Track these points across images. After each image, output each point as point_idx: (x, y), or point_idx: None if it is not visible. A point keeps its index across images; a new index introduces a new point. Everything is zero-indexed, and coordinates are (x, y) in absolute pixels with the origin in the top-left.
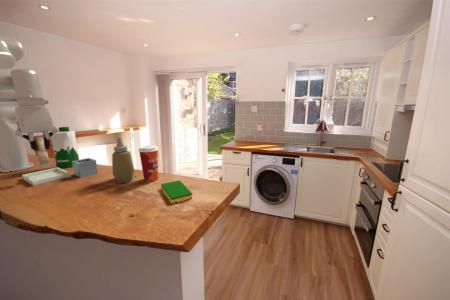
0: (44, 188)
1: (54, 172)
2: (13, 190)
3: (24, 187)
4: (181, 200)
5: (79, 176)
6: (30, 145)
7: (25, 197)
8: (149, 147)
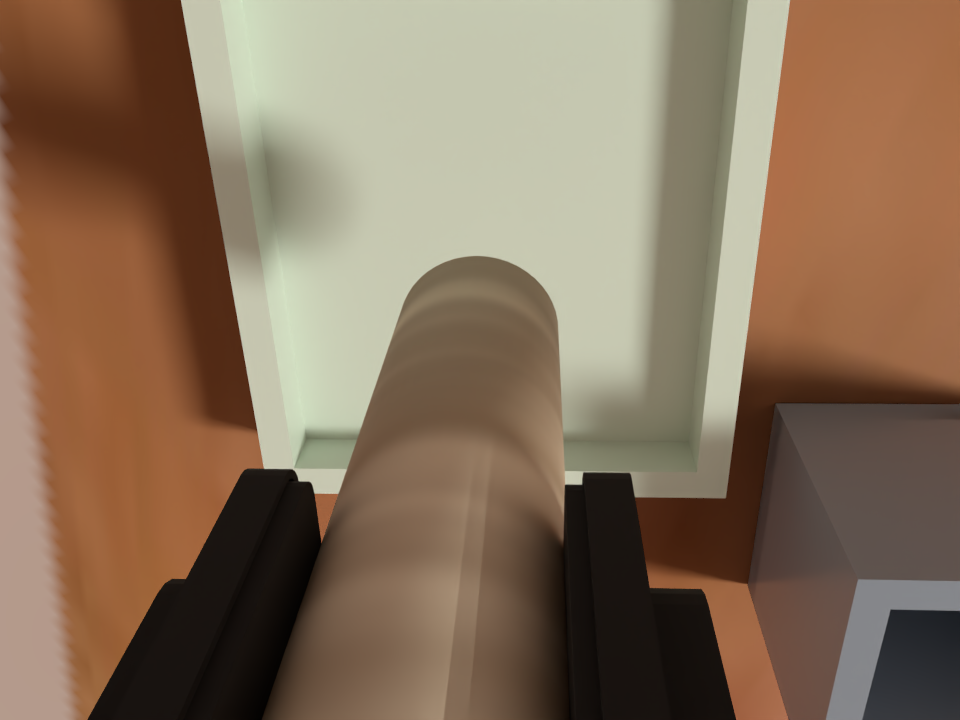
0: None
1: (664, 18)
2: (101, 320)
3: (207, 309)
4: None
5: (761, 578)
6: (127, 652)
7: None
8: None
